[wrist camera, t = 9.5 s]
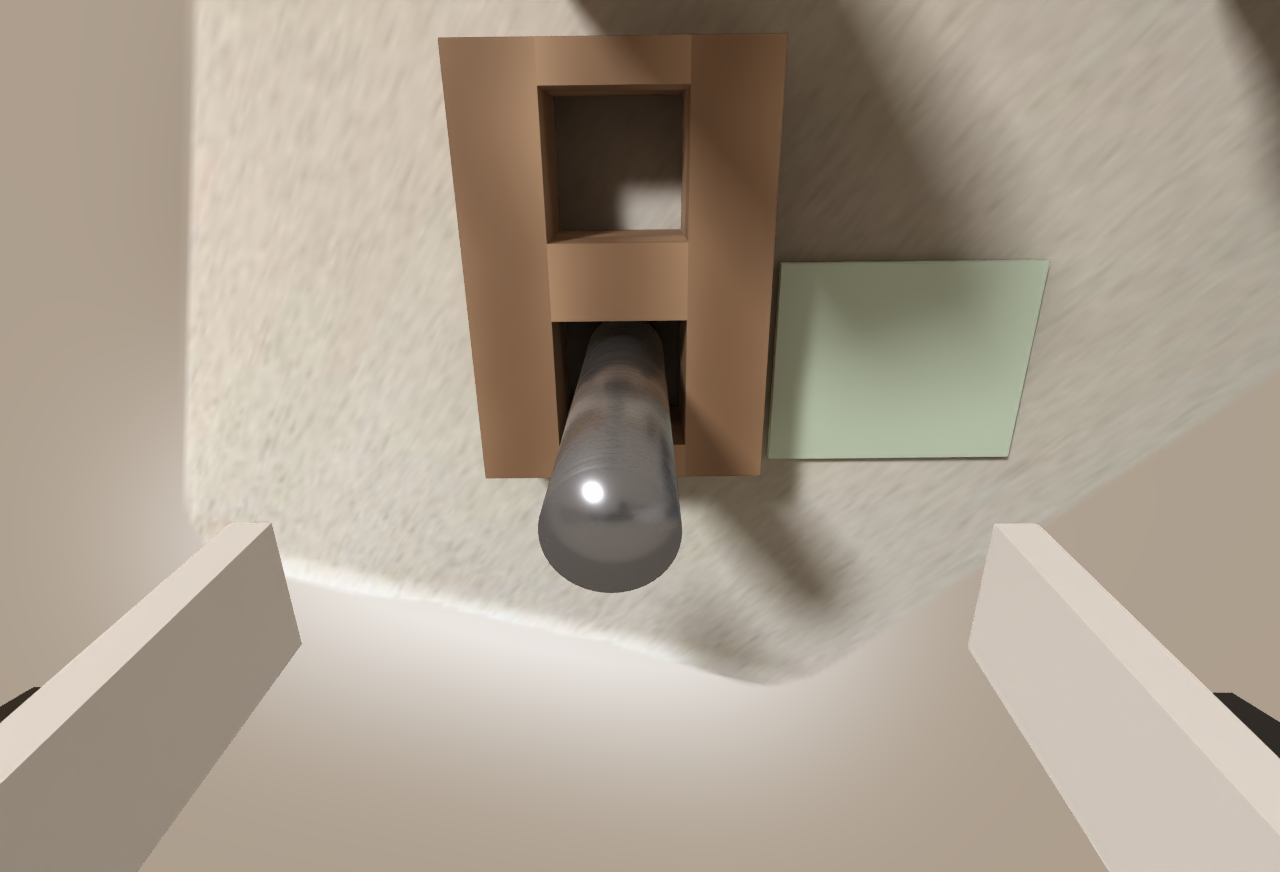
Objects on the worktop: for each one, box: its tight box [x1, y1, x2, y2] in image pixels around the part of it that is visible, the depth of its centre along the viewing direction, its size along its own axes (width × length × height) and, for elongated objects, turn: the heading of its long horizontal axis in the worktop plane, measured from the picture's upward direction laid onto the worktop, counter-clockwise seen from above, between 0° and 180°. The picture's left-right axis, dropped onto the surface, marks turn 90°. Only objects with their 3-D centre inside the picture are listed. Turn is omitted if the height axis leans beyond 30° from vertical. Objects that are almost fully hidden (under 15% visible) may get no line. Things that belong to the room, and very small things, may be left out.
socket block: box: [438, 33, 788, 478], centre depth 24 cm, size 10×14×4 cm
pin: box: [538, 321, 682, 593], centre depth 21 cm, size 3×3×14 cm
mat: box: [767, 259, 1050, 459], centre depth 27 cm, size 10×8×1 cm
